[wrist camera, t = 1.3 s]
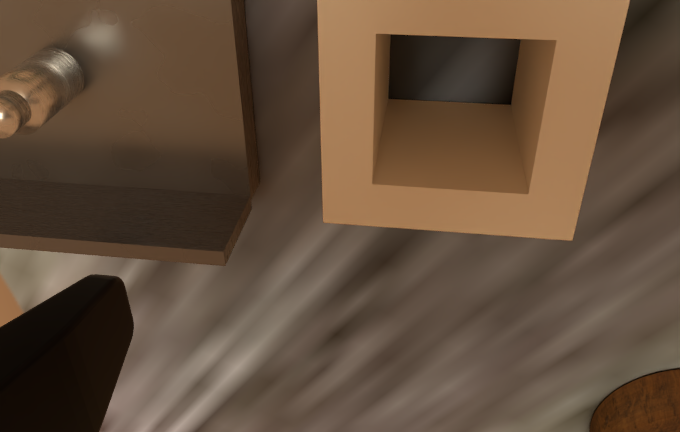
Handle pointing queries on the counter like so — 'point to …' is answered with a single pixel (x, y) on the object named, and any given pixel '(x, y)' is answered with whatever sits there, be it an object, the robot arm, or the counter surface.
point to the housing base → (126, 128)
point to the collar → (464, 117)
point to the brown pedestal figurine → (642, 406)
